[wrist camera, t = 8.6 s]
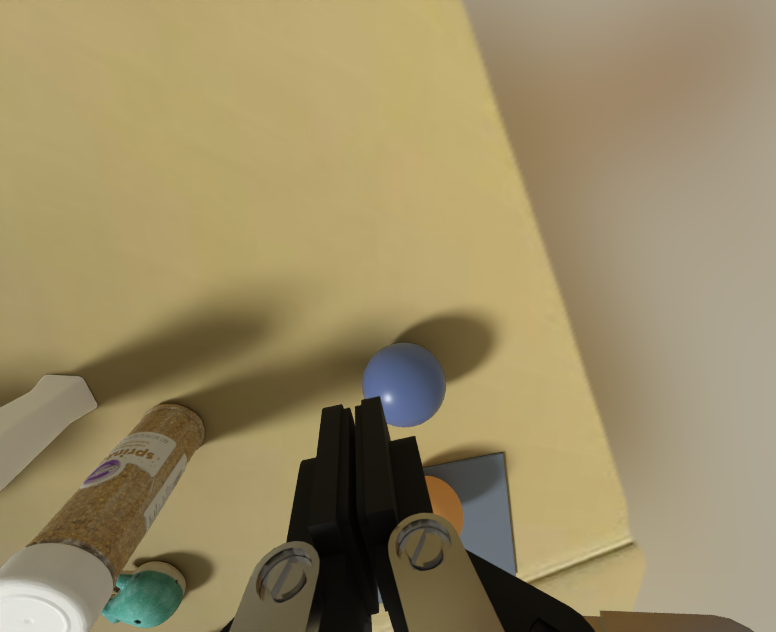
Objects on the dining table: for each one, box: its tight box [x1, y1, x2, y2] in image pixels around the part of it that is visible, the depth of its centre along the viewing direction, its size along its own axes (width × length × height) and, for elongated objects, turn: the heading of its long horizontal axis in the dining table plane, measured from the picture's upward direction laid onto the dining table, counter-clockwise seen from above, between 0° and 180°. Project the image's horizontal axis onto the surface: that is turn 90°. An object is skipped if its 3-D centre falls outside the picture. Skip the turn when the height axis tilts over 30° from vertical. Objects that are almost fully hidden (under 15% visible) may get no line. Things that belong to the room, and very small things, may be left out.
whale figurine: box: [101, 561, 186, 628], centre depth 32 cm, size 6×7×4 cm
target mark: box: [378, 452, 516, 604], centre depth 34 cm, size 14×14×1 cm
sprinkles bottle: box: [0, 404, 205, 632], centre depth 22 cm, size 5×5×14 cm
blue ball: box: [362, 342, 446, 427], centre depth 26 cm, size 6×6×6 cm
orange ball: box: [425, 476, 463, 537], centre depth 29 cm, size 6×6×6 cm
